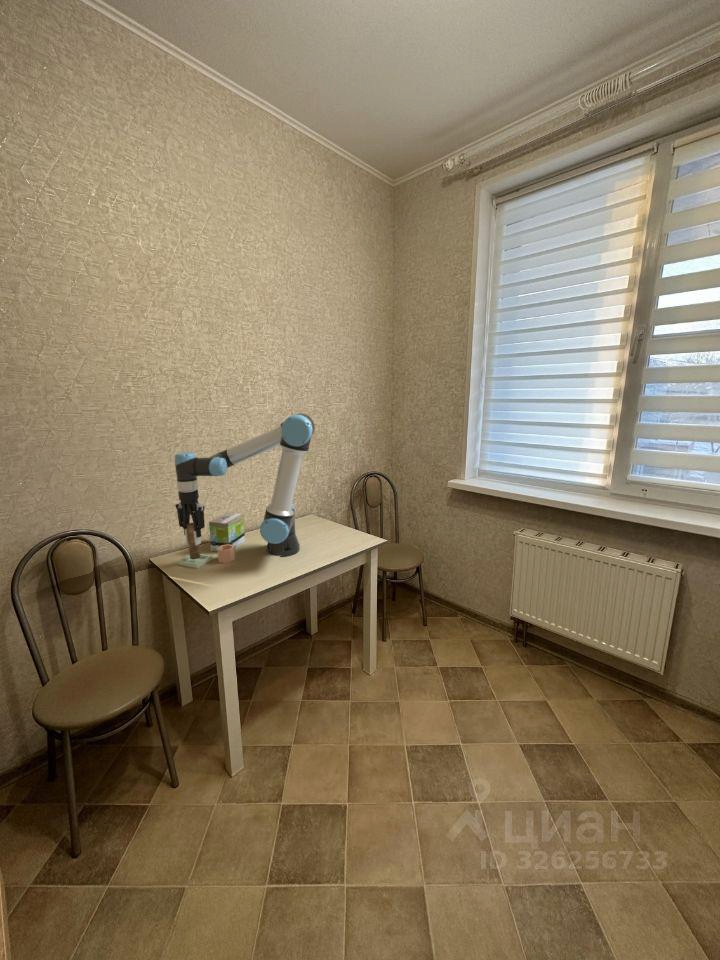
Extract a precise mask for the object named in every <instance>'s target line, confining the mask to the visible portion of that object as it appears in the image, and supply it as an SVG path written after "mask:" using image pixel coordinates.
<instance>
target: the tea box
mask: <svg viewBox="0 0 720 960" xmlns="http://www.w3.org/2000/svg"><path fill="white" fill-rule="evenodd" d="M208 529H209V530H208V531H209V544H210V546H209V547H210V551H211V552H212V551H214V552H218V551H217V548H218V547H219V546H221V545H227V544H229V545H233V546H234V549H236V548H238V547H239V546H241V544H243V543H245V542H246V530H245V514H244V513H234V512H233V513H231V512H225V513H224V514H222V515H220V516H218V517H216V518H214V519H212V520H210V521H208Z"/></svg>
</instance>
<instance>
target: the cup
mask: <svg viewBox="0 0 720 960" xmlns="http://www.w3.org/2000/svg"><path fill="white" fill-rule="evenodd" d="M216 552H217V560H218V563H221V564H229V563H232V562H233V561H235V560H236V558H235V557H236V556H235V548H234V546H233V545H229V544H227V545H221V546H219V547H218V548H217V551H216Z"/></svg>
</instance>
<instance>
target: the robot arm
mask: <svg viewBox="0 0 720 960" xmlns="http://www.w3.org/2000/svg"><path fill="white" fill-rule="evenodd" d="M315 430H316V429H315V422H314V421H313V419H312V418H311V416H309V415H307V414H305V413H297V414H292V415H290V416H288V417H286V419H285V420H284V421H283V422H281V423H280V424H279V426H277V427H276V428H274V429H271V430H268V431H266V432H264V433H261V434H259V435H258V436H254V437H253V438H250V439H248V440H246V441H243V442H240V443H239V444H236V445H233V446H231V447H229V448H226V449H225V450H222V451H219V452H217V453H215V454H213V455H211V456H208V457H196V454H195V453H194V452H189V451H187V452H184V451H183V452H179V453H176V454H175V456H174V467H175V472H176V474H175V475H176V481H177V482H176V483H177V484H176V485H177V490H178V493H177V494H178V500H179V503H176V504H175V505H174V507H175V509H176V513H177V518H178V526H179V527H180V528H182V529H183V535H184V536H185V544H186V545H189V543H188V534H187V524H188V523H191V522H190V521H191V520H190V519H192V523H193V524H194V527H195V530H194V540H195V545H198V544H199V545H200V544H202V538H201V537H202V529H205V528H206V526H205V524H206V523H205V507H206V506H205V505H200V503H199V498H200V494H199V490H198V489H199V487H198V486H199V485H198V477H221V476H222V477H223V476H225V475H226V473H227V470H228V468H230V467H232V466H235V465H237V464H240V463H242V462H246V461H247V460H249V459H253V458H255V457H256V456H259V455H261V454H264V453H266V452H268V451H270V450H273V449H275V448H278V447H280V448H281V456H280V459H279V464H278V467H277V468H278V469H277V473H276V478H275V483H274V487H273V493H272V497H271V501H270V503H269V504H268V505H267V506H266V507H265V510H264V511H265V512H264V516H263V521H262V522H261V524H260V527H259V533H260V536H261V537H262V539H263V540H264V541H265V542H267V544H266V552H267V553H268V554H270V555H272V556H279V557H289V556H293V555H295V554H297V553H298V552H299V551H300V550H301V549H300V548H301V545H300V542H299V538H298V537H297V534H296V515H295V513H296V512H295V510H296V509H295V504H294V503H293V502H294V497H295V493H296V488H297V484H298V480H299V476H300V472H301V466H302V462H303V458H304V455H305V454H306V453H308V452H309V449H310V444H311V440H312V437H313V434H314V433H315Z"/></svg>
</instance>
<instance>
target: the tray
mask: <svg viewBox="0 0 720 960" xmlns="http://www.w3.org/2000/svg"><path fill="white" fill-rule="evenodd" d="M212 560H213V555H208V554H203V553H200V558H198V559H190V554H189V555H187V556H184V557H183V558H180V559H179V560H177V564H178V566H184V567H188V568H194V569H198V568H201V567H202V566H203V565H206V564H207V563H209V562H211V561H212Z"/></svg>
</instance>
